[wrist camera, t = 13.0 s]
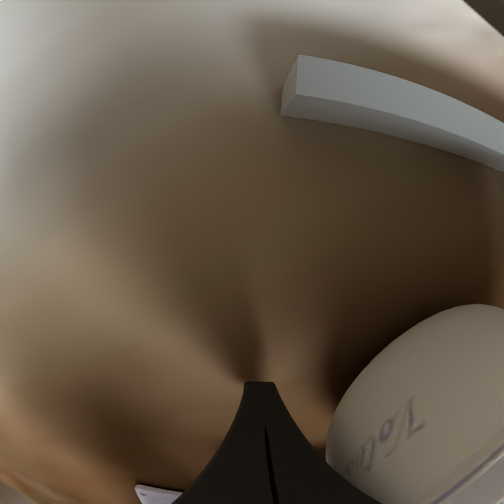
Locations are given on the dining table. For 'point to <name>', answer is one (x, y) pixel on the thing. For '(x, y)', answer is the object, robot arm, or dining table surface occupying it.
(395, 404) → the teacup
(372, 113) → the gray open frame
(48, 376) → the dining table surface
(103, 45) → the dining table surface
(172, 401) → the dining table surface
